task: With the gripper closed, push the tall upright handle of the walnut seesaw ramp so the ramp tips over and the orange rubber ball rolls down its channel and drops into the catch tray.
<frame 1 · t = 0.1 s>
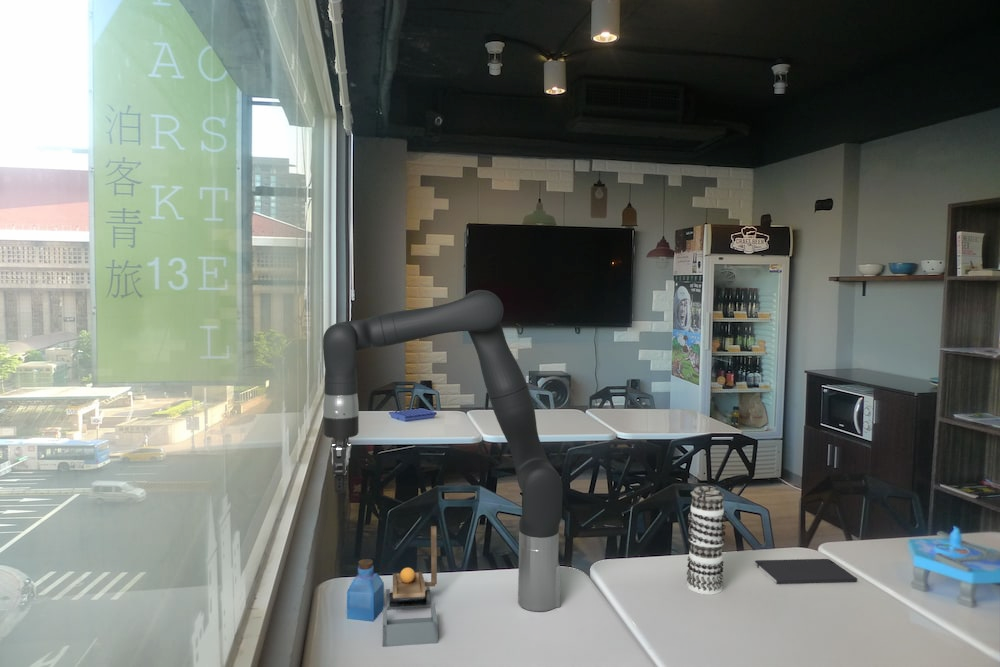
hand: (341, 486, 151), 29 cm above the table, fingers open, 8 cm apart
ball: (407, 575, 165), point 4 cm above the table, tilted 13°, touching lever
fulcrum: (408, 603, 159), on the table
notebook: (803, 575, 180), on the table
lever: (414, 558, 160), point 10 cm above the table, hinge at 15.1°, touching ball
perfume bottle: (365, 614, 154), on the table
decorative candle: (704, 588, 170), on the table
catch tray: (409, 632, 146), on the table
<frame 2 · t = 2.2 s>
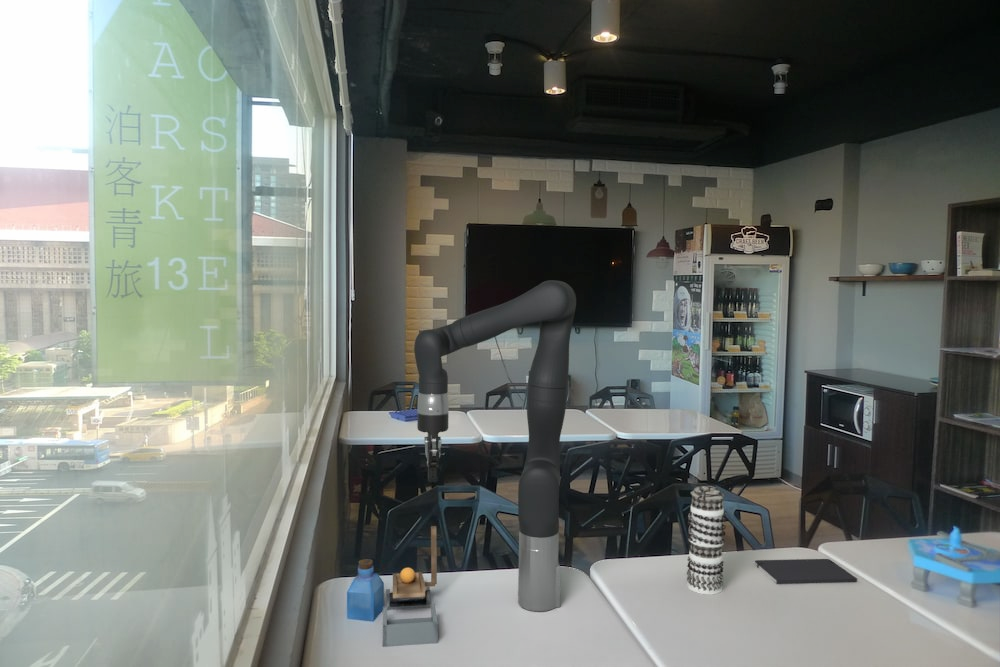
hand: (432, 480, 168), 26 cm above the table, fingers closed
nothing on the table moved.
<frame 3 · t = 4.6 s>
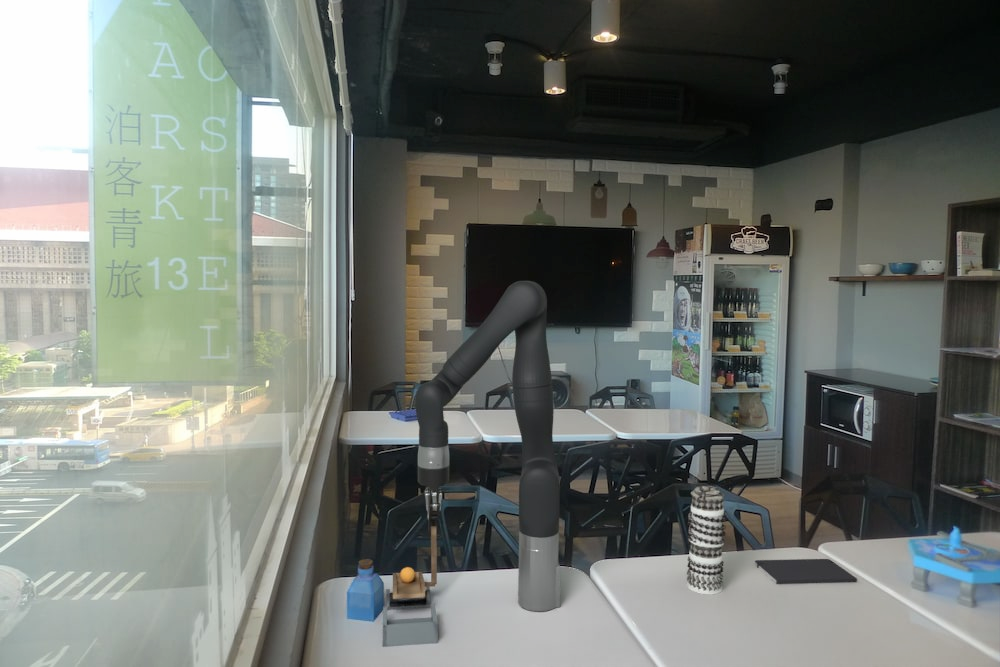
hand: (433, 533, 165), 14 cm above the table, fingers closed
lever: (414, 558, 160), point 10 cm above the table, hinge at 14.2°, touching ball, gripper
everything else where it was.
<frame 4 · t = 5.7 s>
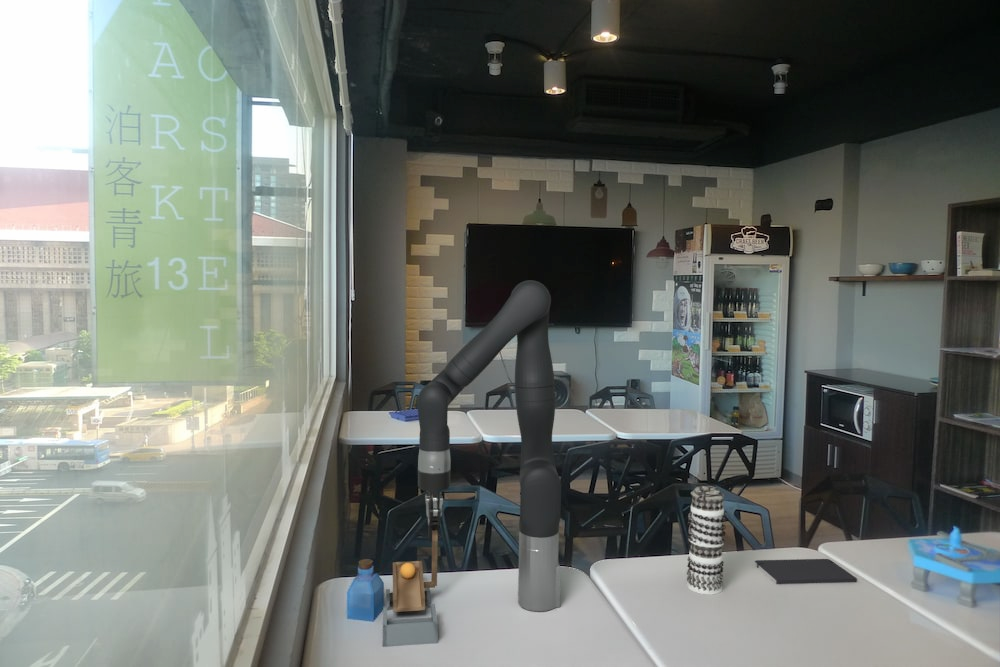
hand: (433, 540, 161), 14 cm above the table, fingers closed
ball: (407, 570, 163), point 6 cm above the table, tilted 54°, touching lever
lever: (415, 561, 158), point 10 cm above the table, hinge at -5.5°, touching ball, gripper
everything else where it was.
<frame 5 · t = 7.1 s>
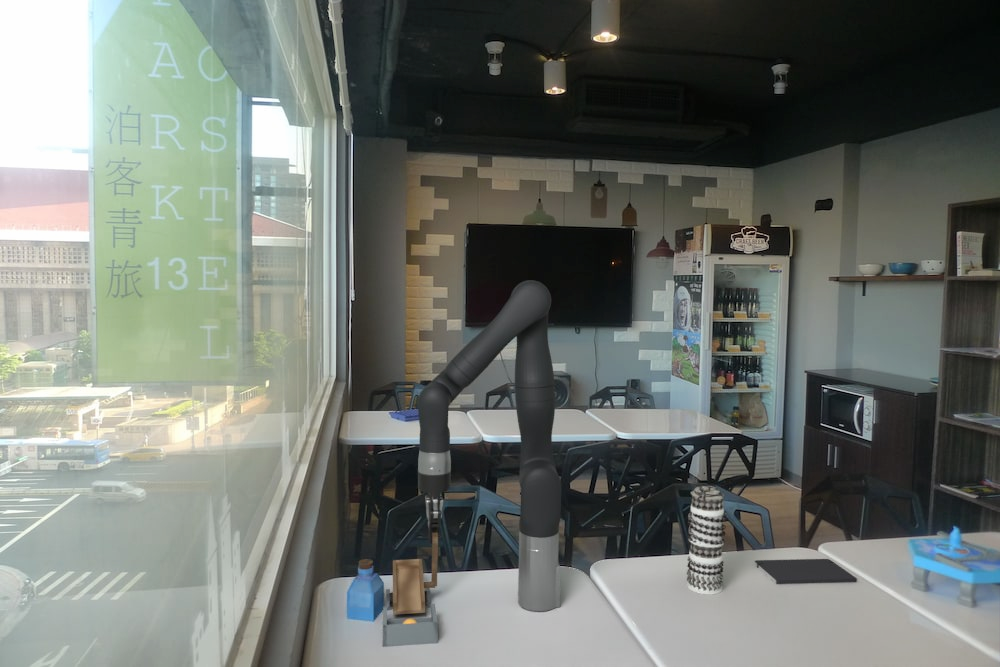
hand: (433, 542, 160), 14 cm above the table, fingers closed
ball: (409, 628, 144), point 2 cm above the table, tilted 12°, touching catch tray
lever: (415, 562, 157), point 10 cm above the table, hinge at -9.8°, touching gripper
everything else where it was.
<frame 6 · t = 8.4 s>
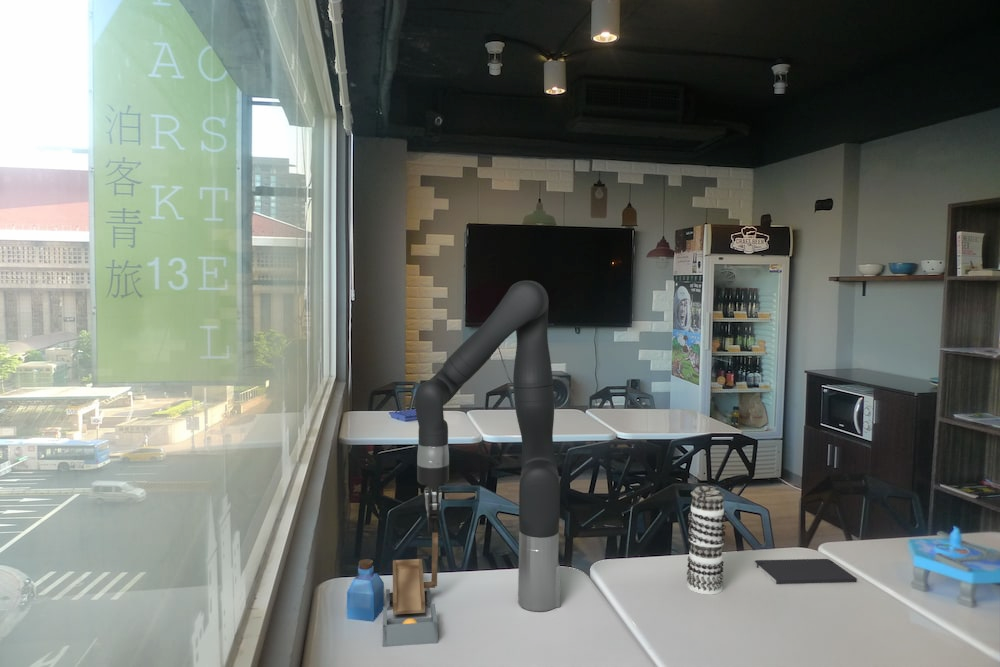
hand: (432, 533, 164), 14 cm above the table, fingers closed
lever: (415, 562, 157), point 10 cm above the table, hinge at -9.8°
everything else where it was.
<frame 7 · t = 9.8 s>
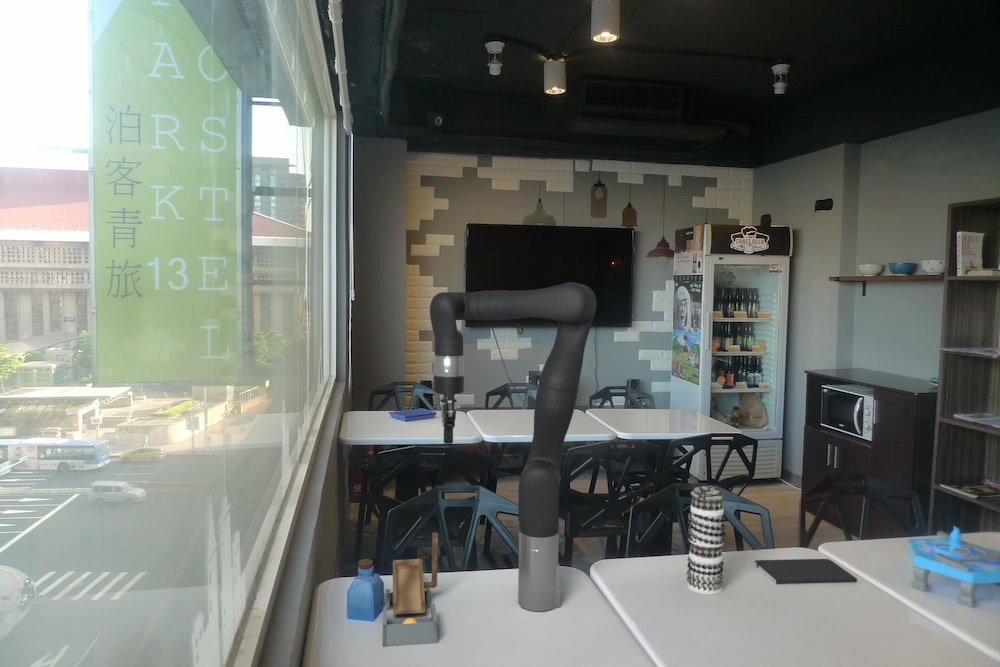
hand: (448, 442, 170), 35 cm above the table, fingers closed
nothing on the table moved.
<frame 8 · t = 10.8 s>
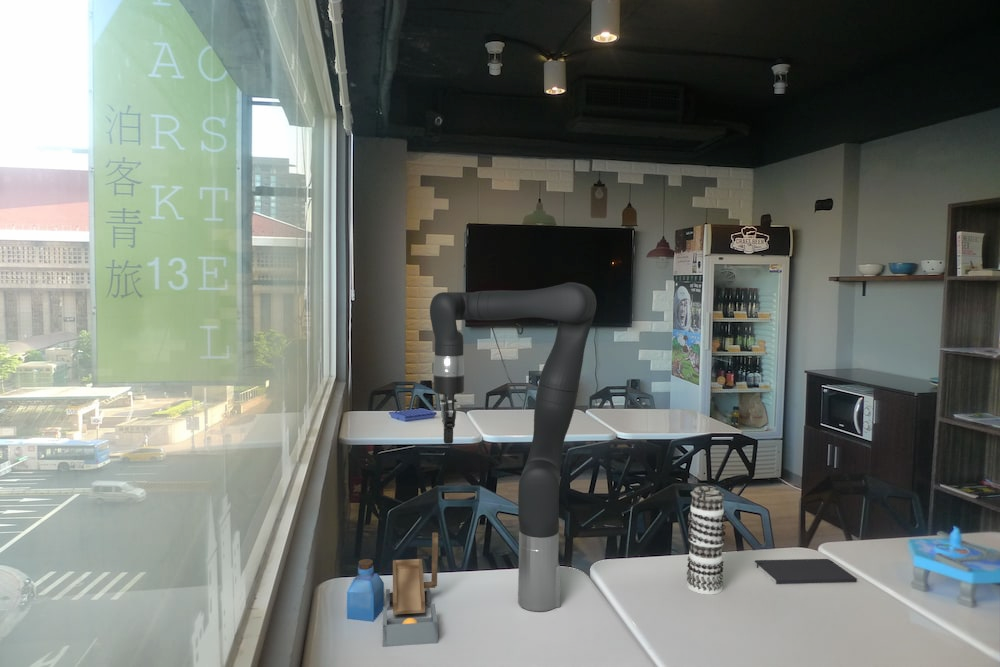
hand: (448, 442, 170), 35 cm above the table, fingers closed
nothing on the table moved.
at the end: ball inside the target area on the catch tray (1.5 cm from its centre), point 2.0 cm above the catch tray's base; lever at -10° (first picture: +15°) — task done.
